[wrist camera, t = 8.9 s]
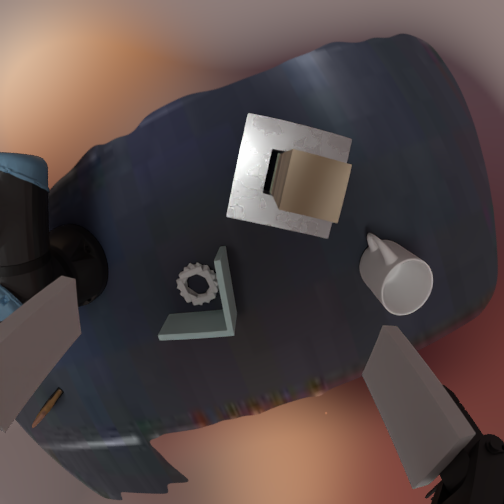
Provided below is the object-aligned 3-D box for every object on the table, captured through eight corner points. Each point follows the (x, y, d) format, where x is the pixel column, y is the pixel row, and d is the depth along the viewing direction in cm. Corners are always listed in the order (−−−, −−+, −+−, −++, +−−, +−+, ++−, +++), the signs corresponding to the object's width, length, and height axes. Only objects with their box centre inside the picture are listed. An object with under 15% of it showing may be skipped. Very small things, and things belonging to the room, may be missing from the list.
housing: (230, 209, 45) (224, 219, 37) (249, 119, 41) (247, 110, 33) (319, 229, 46) (331, 242, 38) (340, 141, 42) (356, 138, 34)
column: (268, 190, 37) (277, 210, 21) (276, 154, 35) (291, 147, 20) (305, 199, 37) (338, 225, 22) (313, 163, 35) (353, 164, 20)
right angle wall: (225, 244, 47) (220, 260, 40) (237, 312, 51) (234, 335, 43) (155, 254, 48) (139, 269, 41) (171, 317, 51) (159, 340, 44)
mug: (381, 211, 44) (411, 225, 34) (409, 268, 47) (439, 292, 37) (338, 241, 46) (360, 262, 36) (371, 295, 49) (394, 326, 39)
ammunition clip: (58, 386, 58) (37, 415, 47) (63, 391, 59) (43, 421, 47) (47, 399, 61) (28, 426, 49) (52, 404, 61) (34, 431, 50)
